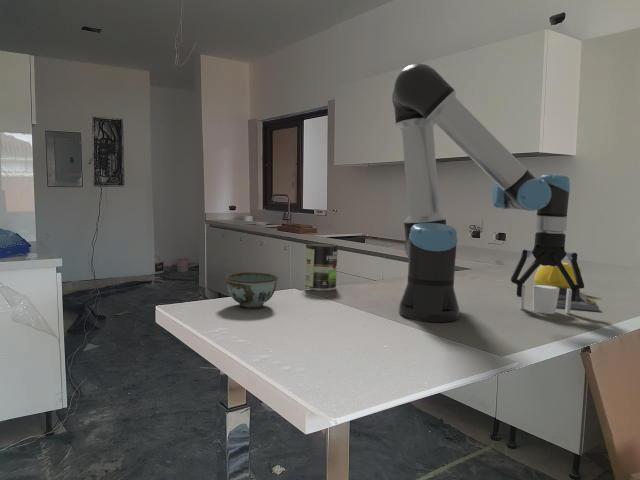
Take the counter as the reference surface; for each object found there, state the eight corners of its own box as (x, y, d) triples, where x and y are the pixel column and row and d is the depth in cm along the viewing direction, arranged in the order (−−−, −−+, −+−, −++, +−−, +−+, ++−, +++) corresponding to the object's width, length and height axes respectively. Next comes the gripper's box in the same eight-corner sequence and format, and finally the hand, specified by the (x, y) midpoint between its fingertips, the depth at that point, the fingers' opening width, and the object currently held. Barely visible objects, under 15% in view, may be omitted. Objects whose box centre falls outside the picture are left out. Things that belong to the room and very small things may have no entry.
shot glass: (561, 311, 135) (563, 287, 134) (552, 315, 129) (555, 290, 129) (535, 307, 139) (537, 283, 138) (526, 310, 134) (528, 286, 133)
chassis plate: (598, 311, 137) (599, 299, 136) (544, 306, 141) (545, 294, 140) (583, 299, 154) (584, 288, 153) (535, 294, 158) (536, 284, 158)
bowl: (256, 298, 137) (257, 270, 136) (287, 307, 127) (288, 277, 127) (214, 304, 127) (215, 274, 127) (245, 315, 118) (245, 282, 117)
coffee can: (342, 287, 158) (343, 244, 157) (325, 292, 149) (327, 247, 148) (315, 283, 163) (317, 242, 162) (298, 288, 155) (299, 244, 153)
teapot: (581, 299, 154) (584, 263, 153) (531, 293, 161) (533, 259, 160) (581, 289, 171) (584, 257, 170) (535, 284, 178) (538, 253, 177)
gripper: (595, 233, 132) (588, 311, 134) (503, 228, 139) (498, 303, 141) (602, 235, 125) (594, 318, 127) (505, 230, 132) (500, 309, 134)
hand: (544, 310), depth 134 cm, fingers open, 11 cm apart
